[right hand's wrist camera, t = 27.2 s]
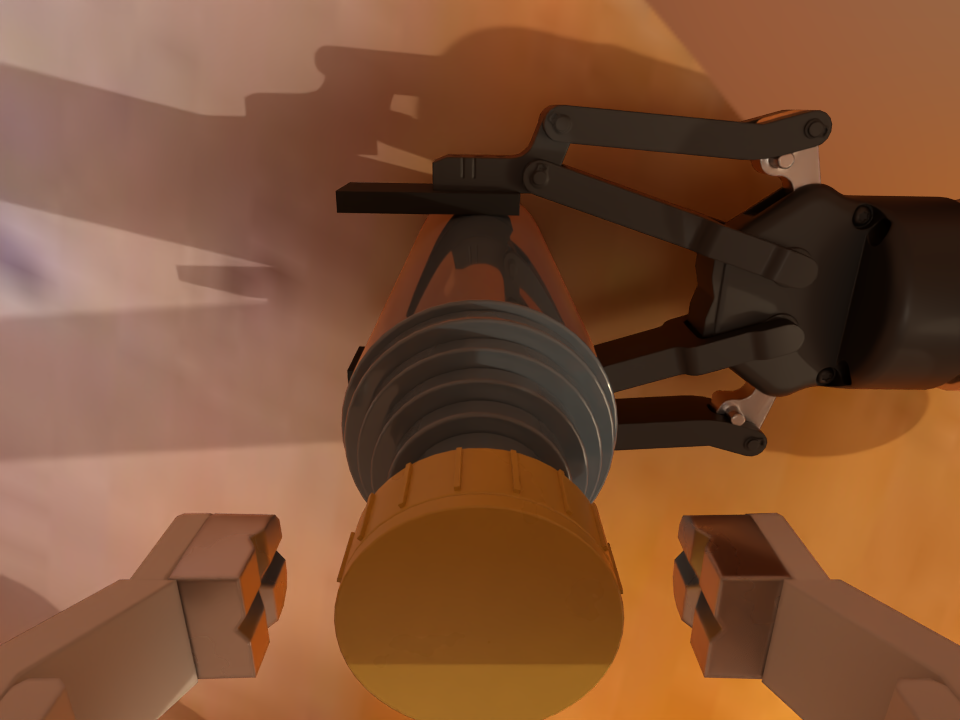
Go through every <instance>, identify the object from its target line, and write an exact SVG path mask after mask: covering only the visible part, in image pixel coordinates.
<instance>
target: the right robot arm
mask: <svg viewBox="0 0 960 720" xmlns="http://www.w3.org/2000/svg"><path fill="white" fill-rule="evenodd" d="M281 539H282V533H281V527H280V521H279V519H278V518H277V517H276V515H263V514H216V513H215V514H211V513H184V514H182V515H179V516H177V517H176V518H175V519H174V521H173V522H172V523H171V525H170V526H169V527H168V529H167V530H166V531H165V533H164V534H163V535H162V537H161V538H160V539H159V541H158V542H157V543H156V545H155V546H154V548H153V549H152V550H151V552H150V553H149V554H148V556H147V557H146V558H145V560H144V561H143V562H142V564H141V565H140V566H139V568H138V569H137V570H136V572H135V573H134V574H133V576H132V577H131V578H130V580H118V581H116V582H115V583H113V584H111V585H109V586H107V587H105V588H104V589H102V590H100V591H98V592H96V593H95V594H93V595H91V596H89V597H87V598H86V599H84V600H82V601H80V602H78V603H76V604H75V605H73V606H71V607H69V608H67V609H66V610H64V611H62V612H60V613H58V614H56V615H55V616H53V617H51V618H49V619H47V620H46V621H44V622H42V623H40V624H38V625H37V626H35V627H33V628H31V629H29V630H27V631H26V632H24V633H22V634H20V635H18V636H17V637H15V638H13V639H11V640H9V641H7V642H6V643H4V644H2V645H0V720H157V719H159V718H160V717H161V716H162V715H163V714H164V713H165V712H166V711H167V710H168V709H169V708H171V707H172V706H173V705H174V704H175V703H176V702H177V701H178V700H179V699H180V698H181V697H182V696H184V695H185V694H186V693H187V692H188V691H189V690H190V689H191V688H192V687H193V686H194V685H196V684H197V683H198V679H215V678H249V677H256V675H257V673H258V670H259V668H260V665H261V663H262V660H263V658H264V655H265V653H266V650H267V648H268V645H269V643H270V641H269V634H268V628H269V627H270V626H271V625H273V624H274V623H275V622H276V621H278V620H279V617H280V614H281V612H282V609H283V606H284V601H285V595H286V589H287V569H286V561H285V559H284V558H283V557H282V556H281V555H280V554H279V553H278V552H277V551H276V550H277V548H278V545H279V543H280V541H281ZM678 539H679V541H680V543H681V545H682V548H683V550H684V551H683V552H682V553H681V554H680V555H679V556H678V557H677V558H676V559H675V561H674V571H673V587H674V597H675V601H676V605H677V609H678V612H679V614H680V617H681V620H682V621H684V622H685V623H686V624H687V625H689V626H690V627H691V628H692V634H691V641H690V643H691V645H692V648H693V650H694V653H695V655H696V658H697V660H698V663H699V665H700V668H701V670H702V673H703V675H704V677H709V678H744V679H762V682H763V683H764V684H765V685H766V686H767V687H768V688H769V689H770V690H771V691H772V692H773V693H775V694H776V695H777V696H778V697H779V698H780V699H781V700H782V701H783V702H784V703H785V704H787V705H788V706H789V707H790V708H791V709H792V710H793V711H794V712H795V713H796V714H797V715H798V716H800V717H801V718H802V719H803V720H960V646H959V645H958V644H956V643H954V642H952V641H950V640H949V639H947V638H945V637H943V636H941V635H940V634H938V633H936V632H934V631H932V630H930V629H929V628H927V627H925V626H923V625H921V624H920V623H918V622H916V621H914V620H912V619H911V618H909V617H907V616H905V615H903V614H902V613H900V612H898V611H896V610H894V609H892V608H891V607H889V606H887V605H885V604H883V603H882V602H880V601H878V600H876V599H874V598H873V597H871V596H869V595H867V594H865V593H864V592H862V591H860V590H858V589H856V588H854V587H853V586H851V585H849V584H847V583H845V582H844V581H842V580H830V578H829V577H828V576H827V574H826V573H825V572H824V570H823V569H822V568H821V566H820V565H819V564H818V562H817V561H816V560H815V558H814V557H813V556H812V554H811V553H810V552H809V550H808V549H807V548H806V546H805V545H804V544H803V542H802V541H801V540H800V538H799V537H798V536H797V534H796V533H795V532H794V530H793V529H792V528H791V526H790V525H789V524H788V522H787V521H786V520H785V518H784V517H783V516H781V515H779V514H778V513H759V514H745V515H684V516H683V517H682V519H681V522H680V525H679V532H678Z"/></svg>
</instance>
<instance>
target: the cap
mask: <svg viewBox="0 0 960 720" xmlns="http://www.w3.org/2000/svg"><path fill="white" fill-rule="evenodd" d="M337 582H340V586H339V589H338V593H337V598H336V603H335V613H334V624H335V632H336V637H337V641H338V644H339V647H340V651H341V653H342V655H343V657H344V659H345V661H346V663H347V665H348V667H349V668H350V670H351V671H352V673H353V674H354V676H355V677H356V678H357V679H358V680H359V682H360V683H361V684H362V685H363V686H364V687H365V688H366V689H367V690H368V691H369V692H370V693H371V694H373V695H374V696H375V697H376V698H377V699H379V700H380V701H382V702H383V703H384V704H386V705H387V706H389V707H390V708H392V709H394V710H396V711H398V712H400V713H402V714H404V715H405V716H408V717H410V718H413V719H415V720H543V719H546V718H548V717H550V716H553V715H555V714H557V713H559V712H561V711H563V710H564V709H566V708H568V707H570V706H571V705H573V704H574V703H575V702H577V701H578V700H580V699H581V698H582V697H584V696H585V695H586V694H587V693H588V692H589V691H590V690H591V689H593V688H594V687H595V686H596V684H597V683H598V682H599V681H600V680H601V678H602V677H603V676H604V675H605V673H606V672H607V670H608V669H609V667H610V666H611V664H612V662H613V660H614V658H615V656H616V653H617V651H618V649H619V646H620V642H621V638H622V634H623V625H624V610H623V601H622V597H621V594H623V589H622V585H621V582H620V579H619V575H618V572H617V568H616V565H615V561H614V558H613V555H612V551H611V548H610V544H609V543H607V541H606V537H605V534H604V530H603V527H602V523H601V520H600V516H599V513H598V510H597V506H596V504H595V503H592V504H591V503H590V502H589V500H588V498H587V497H586V496H585V495H584V494H583V493H582V491H581V490H580V489H579V488H578V487H577V486H576V485H575V484H574V483H573V482H572V481H571V480H569V479H568V478H567V477H566V476H565V474H564V471H562V470H561V469H559V470H558V471H557V470H556V469H554V468H553V467H551V466H549V465H547V464H545V463H543V462H541V461H539V460H537V459H534V458H531V457H529V456H526V455H523V454H520V453H516V450H511V451H507V450H500V449H491V448H467V449H462V447H459V448H456V450H451V451H447V452H443V453H439V454H435V455H432V456H430V457H427V458H424V459H422V460H419V461H417V462H415V463H413V464H411V462H410V463H408V464H406V467H405V468H404V469H403V470H401V471H400V472H398V473H397V474H395V475H394V476H393V477H391V478H390V479H389V480H388V481H387V482H386V483H385V484H384V485H382V486H381V487H380V488H379V489H378V491H377V492H376V493H375V494H373V493H371V494H370V495H369V497H368V501H367V504H366V507H365V509H364V511H363V512H362V515H361V517H360V520H359V522H358V525H357V528H356V531H355V533H354V532H351V535H350V538H349V541H348V545H347V548H346V551H345V555H344V558H343V561H342V565H341V568H340V571H339V575H338V578H337Z"/></svg>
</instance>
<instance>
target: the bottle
mask: <svg viewBox="0 0 960 720" xmlns="http://www.w3.org/2000/svg"><path fill="white" fill-rule="evenodd" d="M341 427H342V437H343V443H344V447H345V452H346V457H347V462H348V466H349V470H350V472H351V475H352V477H353V480H354V482H355V484H356V486H357V488H358V490H359V491H360V493H361V495H362V497H363V498H364V500H365V501H366V502H367V501H368V497H369V495H370V494H371V493H373V494H375V493H376V492H377V491H378V489H379V488H380V487H381V486H382V485H384V484H385V483H386V482H387V481H388V480H389V479H390V478H391V477H393V476H394V475H395V474H397V473H398V472H400V471H401V470H403V469H404V468H405V467H406V464H408V463H410V462H411V464H413V463H415V462H417V461H419V460H422V459H424V458H427V457H430V456H432V455H435V454H439V453H443V452H447V451H451V450H456V448H459V447H462V449H467V448H491V449H500V450H507V451H511V450H516V453H520V454H523V455H526V456H529V457H531V458H534V459H537V460H539V461H541V462H543V463H545V464H547V465H549V466H551V467H553V468H554V469H556V470H557V471H558V470H559V469H561V470H562V471H564V474H565V476H566V477H567V478H568V479H569V480H571V481H572V482H573V483H574V484H575V485H576V486H577V487H578V488H579V489H580V490H581V491H582V493H583V494H584V495H585V496H586V497H587V498H588V500H589V502H590V503H591V504H592V503H593V501H594V500H595V499H596V497H597V495H598V494H599V492H600V490H601V488H602V486H603V485H604V483H605V480H606V478H607V475H608V472H609V470H610V467H611V462H612V458H613V454H614V448H615V444H616V440H617V428H618V417H617V406H616V401H615V396H614V392H613V389H612V386H611V384H610V381H609V378H608V376H607V373H606V371H605V369H604V367H603V365H602V363H601V361H600V358H599V356H598V354H597V352H596V350H595V348H594V346H593V343H592V341H591V339H590V337H589V335H588V333H587V330H586V328H585V326H584V324H583V322H582V320H581V318H580V315H579V313H578V311H577V309H576V307H575V305H574V303H573V300H572V298H571V296H570V294H569V292H568V290H567V288H566V285H565V283H564V281H563V279H562V277H561V275H560V273H559V270H558V268H557V266H556V264H555V262H554V260H553V258H552V255H551V253H550V251H549V249H548V247H547V245H546V243H545V240H544V238H543V236H542V234H541V232H540V230H539V227H538V225H537V224H536V222H535V220H534V218H533V217H532V216H531V214H530V213H529V212H528V211H527V210H526V209H525V207H524V206H522V205H521V204H520V215H519V216H508V215H448V214H429V216H428V217H427V218H426V220H425V222H424V224H423V226H422V228H421V230H420V232H419V234H418V236H417V238H416V240H415V242H414V245H413V247H412V249H411V251H410V253H409V255H408V257H407V259H406V262H405V264H404V266H403V268H402V270H401V272H400V274H399V276H398V278H397V281H396V283H395V285H394V287H393V289H392V291H391V293H390V295H389V298H388V300H387V302H386V304H385V306H384V308H383V310H382V312H381V314H380V317H379V319H378V321H377V323H376V325H375V327H374V329H373V331H372V334H371V336H370V338H369V340H368V342H367V344H366V346H365V348H364V351H363V353H362V355H361V357H360V359H359V361H358V363H357V365H356V367H355V370H354V372H353V374H352V376H351V378H350V381H349V384H348V387H347V389H346V392H345V397H344V402H343V407H342V422H341Z"/></svg>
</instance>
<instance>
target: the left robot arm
mask: <svg viewBox="0 0 960 720" xmlns="http://www.w3.org/2000/svg"><path fill="white" fill-rule="evenodd" d="M831 129H832V122H831V118H830V117H829V116H828V114H827V113H825V112H823V111H820V110H781V111H777V112H774V113H770V114H766V115H763V116H759V117H756V118H752V119H748V120H744V121H741V122H734V121H724V120H714V119H703V118H693V117H683V116H672V115H662V114H652V113H641V112H631V111H621V110H610V109H600V108H590V107H579V106H569V105H551V106H549V107H547V108H545V109H544V110H543V111H542V113H541V114H540V117H539V120H538V124H537V127H536V129H535V132H534V134H533V137H532V139H531V142H530V144H529V146H528V147H527V148H526V149H525V150H524V151H522V152H521V153H519V154H516V155H457V154H448V155H446V156H443V157H441V158H438V159H436V160H434V162H433V184H415V183H357V182H350V183H348V184H347V185H345V186H343V187H342V188H340V189H338V190H337V191H336V203H337V213H389V214H448V215H508V216H519V215H520V193H532V194H534V195H537V196H540V197H543V198H545V199H548V200H551V201H554V202H557V203H560V204H562V205H565V206H568V207H571V208H574V209H577V210H579V211H582V212H585V213H588V214H591V215H594V216H596V217H599V218H602V219H605V220H608V221H610V222H613V223H616V224H619V225H622V226H625V227H627V228H630V229H633V230H636V231H639V232H642V233H644V234H647V235H650V236H653V237H656V238H659V239H661V240H664V241H667V242H670V243H673V244H676V245H678V246H681V247H684V248H687V249H690V250H692V251H694V252H697V257H696V264H695V267H696V275H697V283H698V285H697V288H696V290H695V293H694V295H693V297H692V300H691V302H690V307H689V314H688V315H684V316H681V317H677V318H674V319H671V320H668V321H666V322H665V323H664V324H663V325H662V326H661V327H658V328H655V329H651V330H648V331H644V332H640V333H637V334H633V335H630V336H626V337H623V338H619V339H616V340H612V341H608V342H605V343H601V344H598V345H594V348H595V350H596V352H597V354H598V356H599V358H600V361H601V363H602V365H603V367H604V369H605V371H606V373H607V376H608V378H609V381H610V384H611V386H612V389H613V392H618V391H622V390H625V389H629V388H633V387H636V386H640V385H644V384H647V383H651V382H655V381H658V380H662V379H666V378H669V377H673V376H677V375H681V374H687V375H692V376H697V375H703V374H706V373H710V372H714V371H717V370H721V369H725V368H730V369H731V370H732V371H734V372H735V373H736V374H738V375H739V376H740V377H741V378H743V379H744V380H745V381H747V382H746V383H745V384H744V385H743V386H742V387H741V388H739V389H738V390H734V391H721V390H718V391H716V392H714V393H713V395H712V399H711V398H707V397H701V396H663V397H644V398H624V399H615V401H616V406H617V417H618V428H617V440H616V444H615V448H614V450H633V449H653V448H673V447H693V446H712V447H716V448H719V449H723V450H727V451H730V452H734V453H738V454H741V455H745V456H755V455H758V454H759V453H761V452H762V451H763V450H764V449H765V448H766V444H767V439H766V436H765V435H764V434H763V433H762V431H761V430H760V427H761V425H762V424H763V422H764V420H765V418H766V416H767V414H768V412H769V410H770V408H771V406H772V404H773V402H774V400H775V398H776V397H782V396H787V395H790V394H792V393H794V392H796V391H799V390H801V389H804V388H808V387H812V386H825V387H834V388H845V389H911V390H926V389H932V388H939V389H943V390H947V391H960V199H958V200H953V199H949V198H944V197H914V196H852V195H843V194H841V193H839V192H837V191H836V190H834V189H833V188H832V187H830V186H828V185H825V184H821V176H820V162H819V147H818V145H820V144H822V143H823V142H824V141H825V140H826V139H827V138H828V137H829V135H830V133H831ZM570 143H572V144H582V145H593V146H603V147H614V148H624V149H635V150H645V151H656V152H667V153H677V154H688V155H698V156H709V157H719V158H730V159H740V160H751V164H752V166H753V168H754V169H755V170H756V171H757V172H759V173H763V174H767V175H771V176H778V177H779V178H780V180H781V181H782V184H783V187H781V188H780V189H778V190H777V191H775V192H774V193H772V194H771V195H769V196H767V197H766V198H764V199H763V200H761V201H760V202H758V203H757V204H755V205H753V206H752V207H750V208H749V209H747V210H746V211H744V212H743V213H741V214H739V215H738V216H736V217H735V218H733V219H732V220H730V221H729V222H727V223H726V222H723V221H720V220H718V219H715V218H712V217H709V216H707V215H704V214H701V213H698V212H695V211H693V210H690V209H686V208H683V207H680V206H677V205H675V204H672V203H669V202H666V201H664V200H661V199H658V198H655V197H652V196H650V195H647V194H644V193H641V192H639V191H636V190H633V189H630V188H628V187H625V186H622V185H619V184H616V183H614V182H611V181H608V180H605V179H603V178H600V177H597V176H594V175H592V174H589V173H586V172H583V171H580V170H578V169H575V168H572V167H569V166H567V165H564V164H562V162H563V160H564V157H565V155H566V152H567V150H568V147H569V145H570ZM364 348H365V347H359V348H358V350H357V352H356V354H355V356H354V358H353V360H352V362H351V364H350V366H349V368H348V370H347V372H348V384H349V381H350V378H351V376H352V374H353V372H354V370H355V367H356V365H357V363H358V361H359V359H360V357H361V355H362V353H363V351H364Z"/></svg>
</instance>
